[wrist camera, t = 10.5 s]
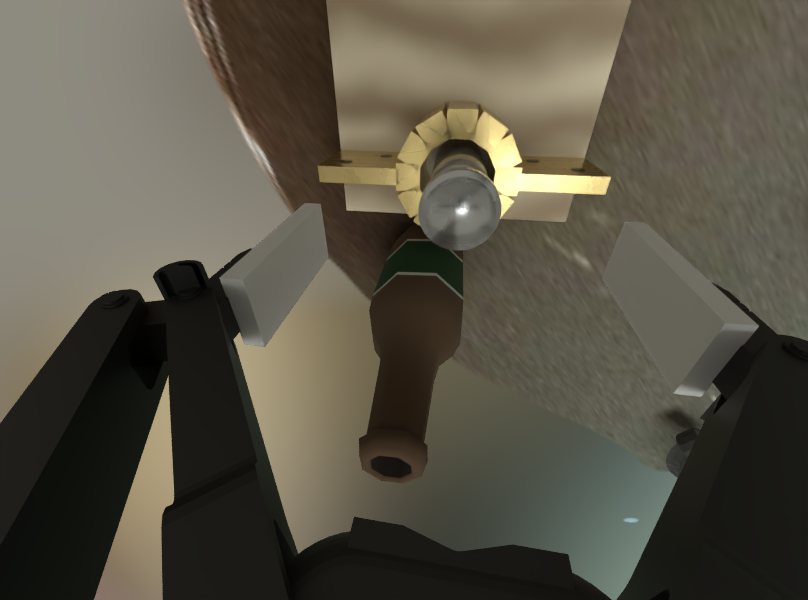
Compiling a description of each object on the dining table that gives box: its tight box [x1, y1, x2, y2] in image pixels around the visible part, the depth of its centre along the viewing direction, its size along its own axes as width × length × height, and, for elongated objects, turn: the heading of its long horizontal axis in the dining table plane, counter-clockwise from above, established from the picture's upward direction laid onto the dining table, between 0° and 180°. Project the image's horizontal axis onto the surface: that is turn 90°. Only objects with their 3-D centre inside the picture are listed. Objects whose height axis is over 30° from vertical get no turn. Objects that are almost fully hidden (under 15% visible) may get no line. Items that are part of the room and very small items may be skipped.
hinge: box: [318, 102, 611, 226], centre depth 27 cm, size 9×21×6 cm, turn 90°
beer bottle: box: [359, 223, 463, 483], centre depth 26 cm, size 8×8×24 cm
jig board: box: [326, 0, 631, 222], centre depth 28 cm, size 16×21×1 cm
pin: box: [418, 139, 501, 250], centre depth 24 cm, size 5×5×13 cm
